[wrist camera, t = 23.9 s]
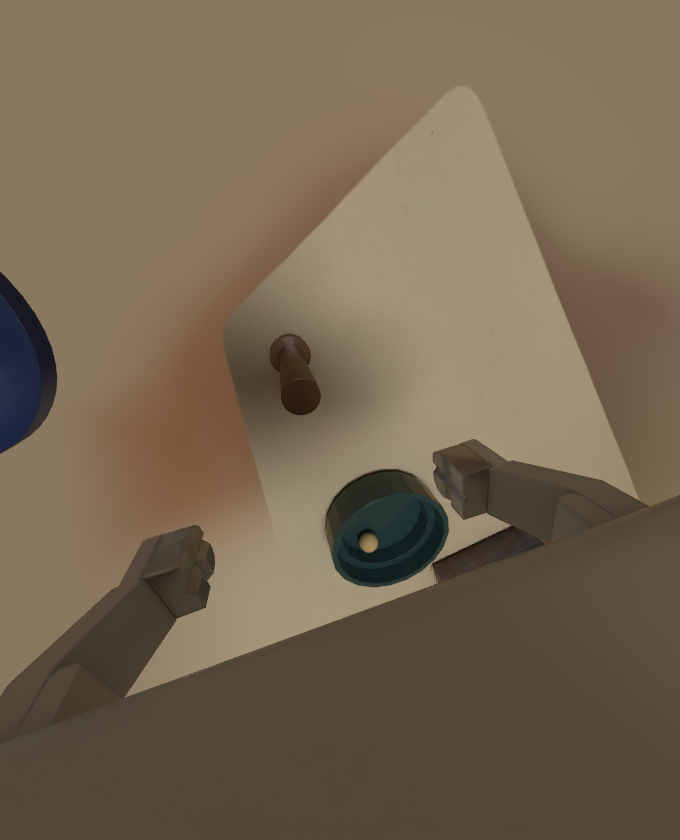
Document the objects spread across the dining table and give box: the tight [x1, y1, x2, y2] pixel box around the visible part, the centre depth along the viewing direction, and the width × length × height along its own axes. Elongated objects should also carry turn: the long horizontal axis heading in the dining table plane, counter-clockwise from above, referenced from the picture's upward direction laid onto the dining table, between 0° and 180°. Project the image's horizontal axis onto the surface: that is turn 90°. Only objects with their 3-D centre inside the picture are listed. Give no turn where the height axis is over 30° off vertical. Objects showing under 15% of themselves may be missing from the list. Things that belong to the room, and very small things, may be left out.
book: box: [432, 526, 548, 583], centre depth 54 cm, size 17×7×25 cm
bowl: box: [326, 472, 449, 587], centre depth 43 cm, size 18×18×6 cm
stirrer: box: [270, 334, 321, 415], centre depth 25 cm, size 4×4×16 cm
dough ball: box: [359, 532, 378, 553], centre depth 44 cm, size 3×3×3 cm
